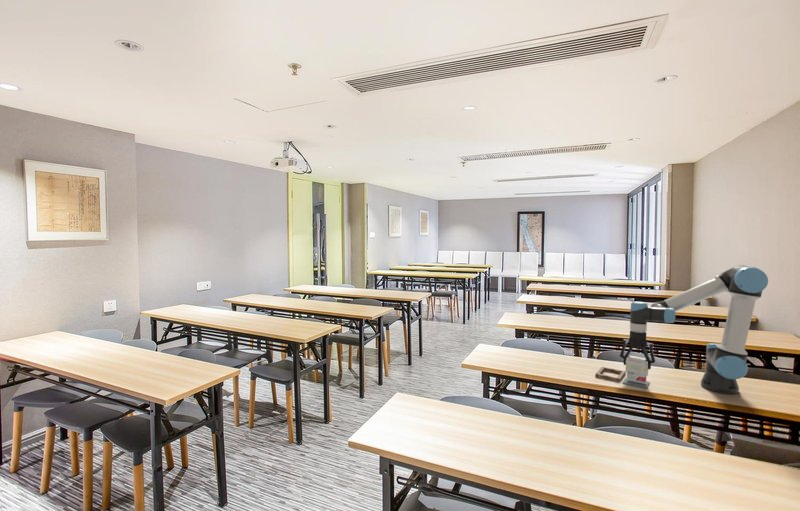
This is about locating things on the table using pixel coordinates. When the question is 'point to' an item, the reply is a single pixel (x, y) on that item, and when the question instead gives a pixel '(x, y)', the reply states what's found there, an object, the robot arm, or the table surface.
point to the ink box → (636, 368)
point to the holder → (618, 379)
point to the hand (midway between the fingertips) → (636, 373)
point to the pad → (636, 383)
